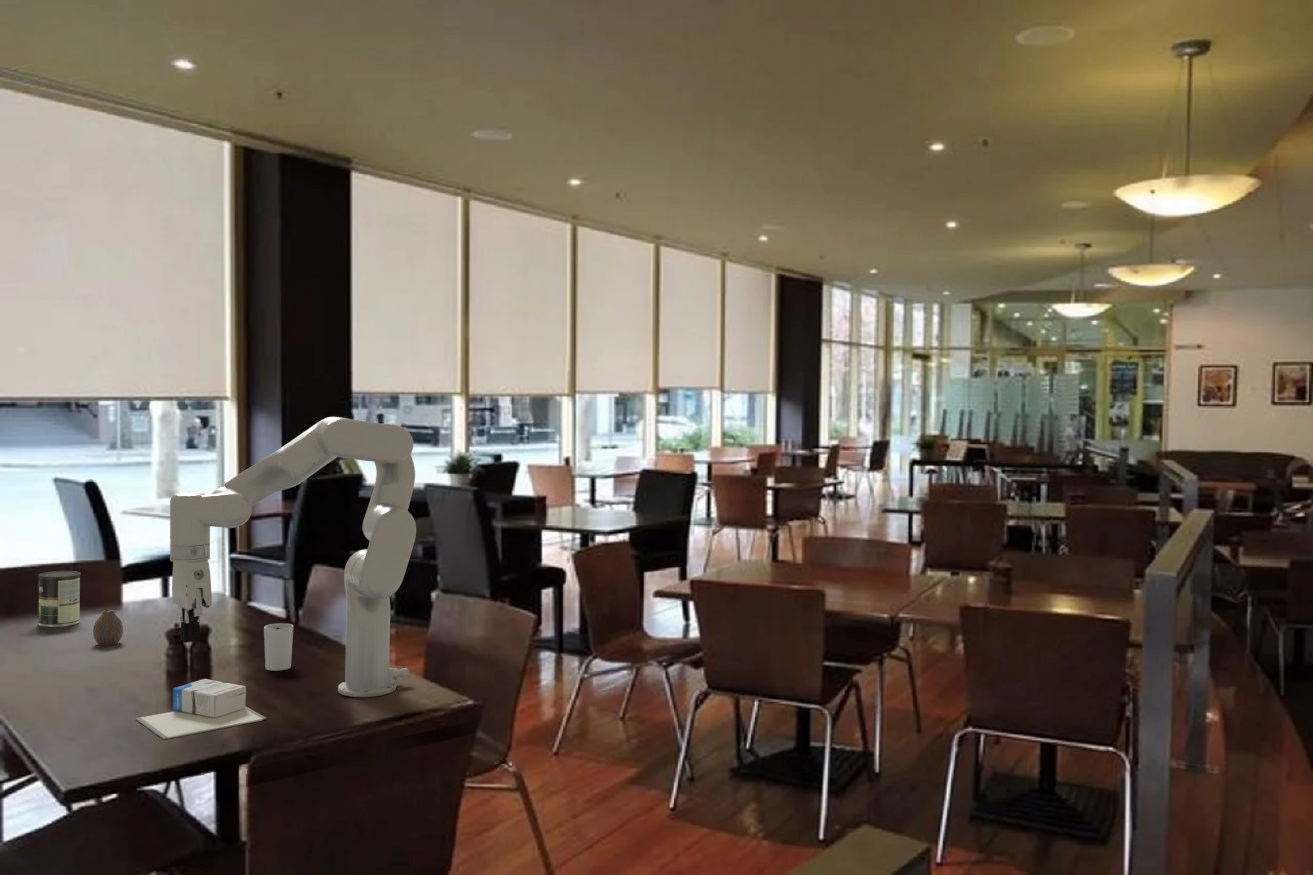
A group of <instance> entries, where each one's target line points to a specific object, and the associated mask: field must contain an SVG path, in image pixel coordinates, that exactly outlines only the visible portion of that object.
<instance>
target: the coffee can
mask: <svg viewBox="0 0 1313 875" xmlns="http://www.w3.org/2000/svg"><path fill="white" fill-rule="evenodd" d="M80 592H81V572H80V571H77V570H76V571H75V570H56V571H55V570H53V571H45V572H41V573H39V574H38V626H39V627H43V628H61V627H69V626H75V625H78V624H80V622H81V620H80V617H81V616H80V615H81V614H80V605H81V604H80V596H81V594H80Z"/></svg>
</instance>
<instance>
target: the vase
mask: <svg viewBox="0 0 1313 875" xmlns="http://www.w3.org/2000/svg"><path fill="white" fill-rule="evenodd" d="M92 630H93V631H92V632H93V633H92V635H93V638H94V640H95V642H96V644H98V646H102V647H109V646H114V645H117V644H118V643H120V640H122V637H123V635H124V625H123V622H122V620H121V618H120V617H119V616H118V615H117V614H116V613H115V611H114V609H107V610H106V609H105V610H103V611H102V613H101V614H100V616H99V617H98V619H97V620H96V621H95V623H94V626H93V629H92Z"/></svg>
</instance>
